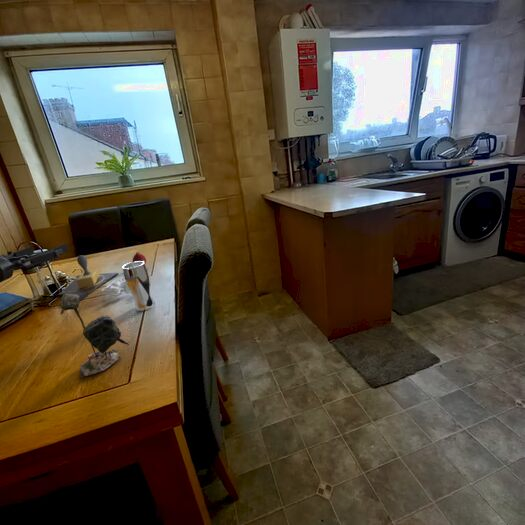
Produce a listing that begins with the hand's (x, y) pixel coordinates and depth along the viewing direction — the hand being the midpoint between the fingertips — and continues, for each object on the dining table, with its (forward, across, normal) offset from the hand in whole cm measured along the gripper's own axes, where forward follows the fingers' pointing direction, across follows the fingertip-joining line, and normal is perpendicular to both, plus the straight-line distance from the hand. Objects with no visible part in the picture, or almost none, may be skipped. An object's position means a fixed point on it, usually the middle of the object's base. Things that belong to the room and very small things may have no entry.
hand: (49, 248), depth 99 cm
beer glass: (-10, +37, -20) cm, 43 cm away
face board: (+12, -3, -20) cm, 24 cm away
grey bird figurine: (-37, +41, -20) cm, 58 cm away
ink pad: (-1, +4, -20) cm, 20 cm away
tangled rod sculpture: (+6, +20, -20) cm, 29 cm away
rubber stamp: (+12, 0, -19) cm, 23 cm away
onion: (+28, +15, -20) cm, 38 cm away
